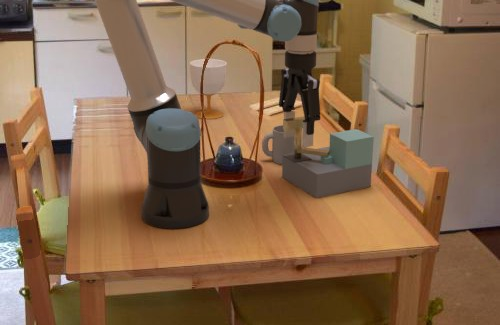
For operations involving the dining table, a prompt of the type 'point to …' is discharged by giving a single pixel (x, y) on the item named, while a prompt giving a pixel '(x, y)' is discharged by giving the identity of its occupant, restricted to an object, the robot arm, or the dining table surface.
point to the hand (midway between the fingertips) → (298, 141)
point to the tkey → (298, 149)
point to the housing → (323, 175)
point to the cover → (350, 149)
